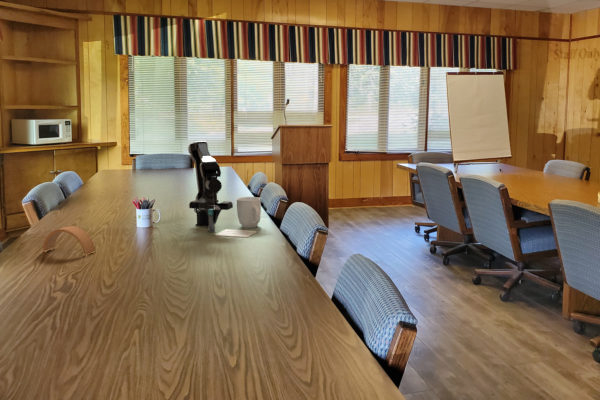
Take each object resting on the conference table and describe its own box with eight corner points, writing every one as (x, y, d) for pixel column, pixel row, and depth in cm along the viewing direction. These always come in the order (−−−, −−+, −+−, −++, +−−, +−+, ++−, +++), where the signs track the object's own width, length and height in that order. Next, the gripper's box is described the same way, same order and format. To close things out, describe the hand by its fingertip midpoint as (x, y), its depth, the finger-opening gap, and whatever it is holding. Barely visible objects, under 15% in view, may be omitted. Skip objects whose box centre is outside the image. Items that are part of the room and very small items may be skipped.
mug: (269, 228, 248) (269, 200, 245) (248, 231, 242) (247, 202, 239) (254, 222, 260) (253, 195, 258) (233, 225, 254) (232, 198, 252)
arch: (53, 249, 217) (51, 224, 215) (95, 252, 211) (93, 227, 209) (43, 253, 212) (40, 227, 210) (85, 256, 206) (83, 231, 204)
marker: (207, 232, 242) (206, 210, 240) (210, 230, 244) (209, 209, 243) (213, 232, 241) (212, 210, 239) (216, 231, 244) (215, 209, 242)
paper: (215, 235, 235) (215, 234, 235) (225, 229, 246) (225, 229, 246) (247, 237, 231) (247, 236, 231) (256, 231, 242) (256, 230, 242)
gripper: (182, 191, 234) (184, 226, 237) (222, 192, 229) (223, 229, 232) (194, 187, 245) (195, 221, 248) (232, 188, 240) (233, 223, 242)
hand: (211, 224), depth 242 cm, fingers closed on marker, 3 cm apart
